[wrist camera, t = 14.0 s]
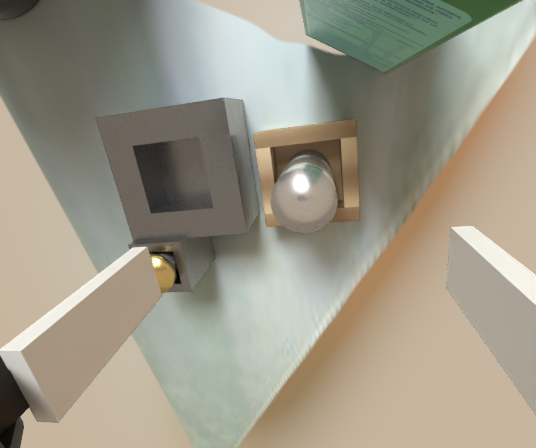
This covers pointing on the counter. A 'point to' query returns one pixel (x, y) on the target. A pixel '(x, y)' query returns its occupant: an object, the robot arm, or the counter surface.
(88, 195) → the counter surface
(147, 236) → the socket block
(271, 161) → the tray
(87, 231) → the counter surface
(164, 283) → the gold rounded cylinder
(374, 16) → the milk carton
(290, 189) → the shiny silver rounded cylinder
